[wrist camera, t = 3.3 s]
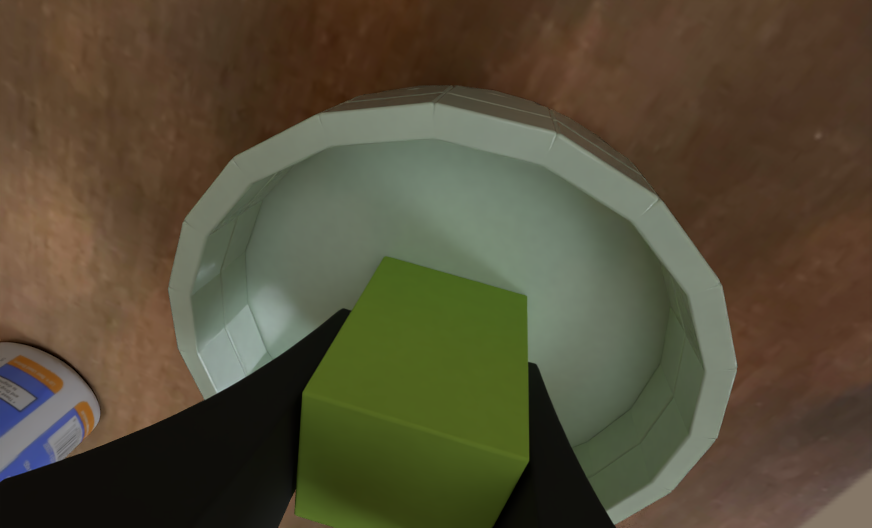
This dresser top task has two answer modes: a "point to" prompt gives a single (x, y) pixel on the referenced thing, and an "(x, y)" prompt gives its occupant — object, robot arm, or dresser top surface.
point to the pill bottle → (40, 409)
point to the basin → (472, 264)
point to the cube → (417, 406)
